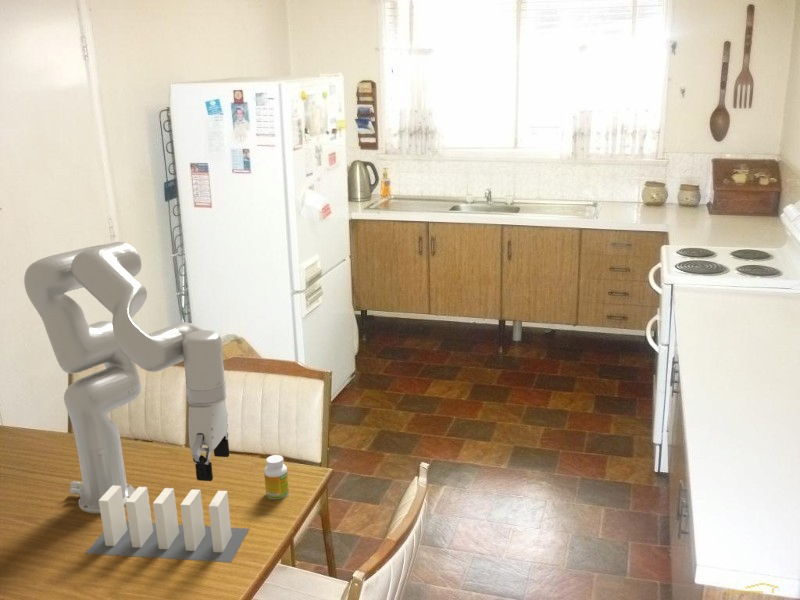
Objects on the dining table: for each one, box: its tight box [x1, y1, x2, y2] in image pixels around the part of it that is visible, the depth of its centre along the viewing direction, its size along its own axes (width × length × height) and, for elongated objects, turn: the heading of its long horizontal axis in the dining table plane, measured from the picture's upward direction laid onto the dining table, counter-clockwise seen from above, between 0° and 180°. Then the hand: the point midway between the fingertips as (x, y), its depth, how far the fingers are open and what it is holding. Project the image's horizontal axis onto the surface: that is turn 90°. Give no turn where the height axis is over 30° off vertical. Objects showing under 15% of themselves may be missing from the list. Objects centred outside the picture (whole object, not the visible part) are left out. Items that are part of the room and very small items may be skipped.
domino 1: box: [99, 485, 127, 546], centre depth 164 cm, size 2×6×11 cm, turn 173°
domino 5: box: [208, 490, 232, 552], centre depth 161 cm, size 2×6×11 cm, turn 174°
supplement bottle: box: [263, 454, 290, 500], centre depth 181 cm, size 5×5×10 cm
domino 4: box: [180, 489, 205, 551], centre depth 162 cm, size 2×6×11 cm, turn 173°
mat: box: [85, 521, 250, 563], centre depth 164 cm, size 32×12×1 cm, turn 83°
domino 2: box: [125, 486, 153, 548], centre depth 163 cm, size 2×6×11 cm, turn 173°
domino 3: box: [152, 487, 179, 549], centre depth 163 cm, size 2×6×11 cm, turn 173°
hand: (213, 467), depth 158 cm, fingers open, 9 cm apart
